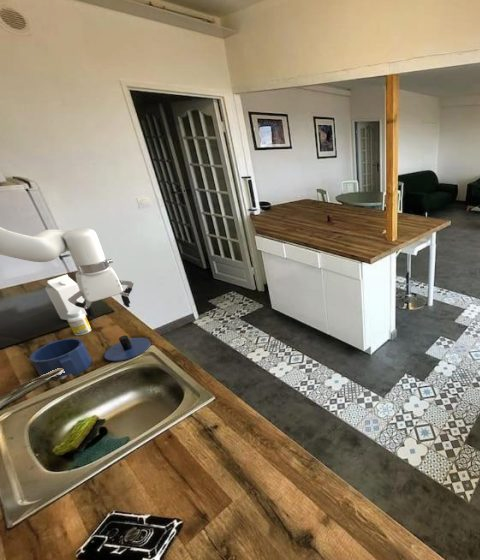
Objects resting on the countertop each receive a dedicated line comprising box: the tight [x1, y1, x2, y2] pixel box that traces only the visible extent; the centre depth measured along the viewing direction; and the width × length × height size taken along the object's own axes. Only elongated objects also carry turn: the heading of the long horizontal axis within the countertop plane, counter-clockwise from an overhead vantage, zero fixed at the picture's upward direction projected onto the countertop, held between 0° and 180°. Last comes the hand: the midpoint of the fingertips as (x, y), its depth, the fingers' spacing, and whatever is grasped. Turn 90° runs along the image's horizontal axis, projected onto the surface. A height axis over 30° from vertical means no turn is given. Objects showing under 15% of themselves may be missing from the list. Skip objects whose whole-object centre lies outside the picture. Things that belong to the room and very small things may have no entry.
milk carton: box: [44, 273, 87, 321], centre depth 133 cm, size 7×7×19 cm
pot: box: [28, 337, 93, 379], centre depth 105 cm, size 13×18×8 cm
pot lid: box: [103, 335, 151, 362], centre depth 115 cm, size 14×14×6 cm
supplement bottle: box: [66, 310, 92, 336], centre depth 125 cm, size 5×5×10 cm
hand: (110, 311), depth 109 cm, fingers open, 9 cm apart
